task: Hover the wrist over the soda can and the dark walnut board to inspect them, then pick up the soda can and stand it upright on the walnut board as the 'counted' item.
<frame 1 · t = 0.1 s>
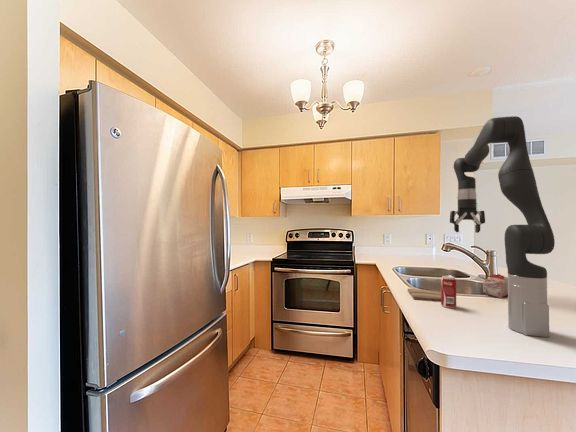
hand: (467, 232, 127), 29 cm above the countertop, fingers open, 8 cm apart
walnut board: (428, 296, 121), on the countertop
food item: (497, 295, 123), on the countertop
soda can: (448, 307, 106), on the countertop
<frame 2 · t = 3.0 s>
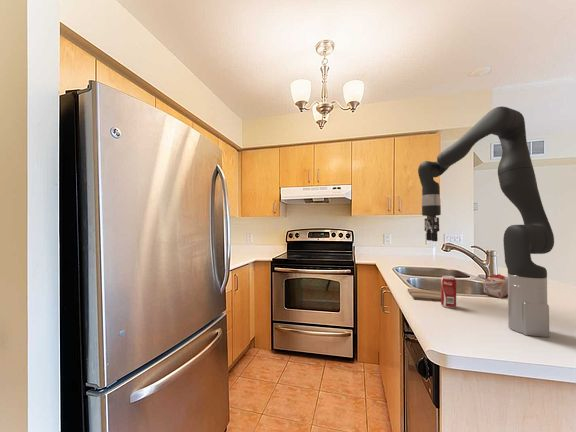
hand: (431, 240, 119), 26 cm above the countertop, fingers open, 8 cm apart
nothing on the countertop moved.
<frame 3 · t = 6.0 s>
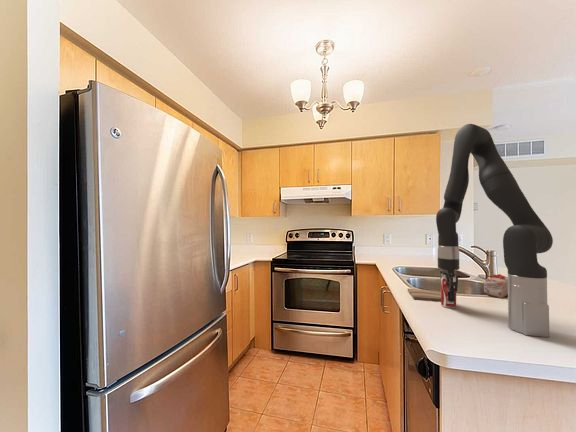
hand: (448, 299, 106), 3 cm above the countertop, fingers closed on soda can, 5 cm apart
soda can: (448, 306, 106), on the countertop, touching gripper
everything else where it was.
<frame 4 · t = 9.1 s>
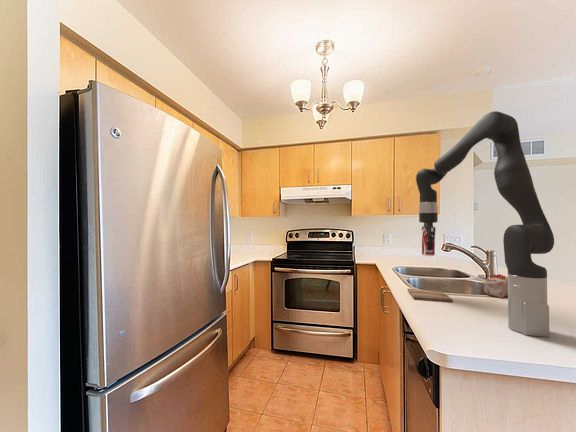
hand: (428, 249, 121), 22 cm above the countertop, fingers closed on soda can, 5 cm apart
soda can: (428, 255, 121), point 18 cm above the countertop, touching gripper
everything else where it was.
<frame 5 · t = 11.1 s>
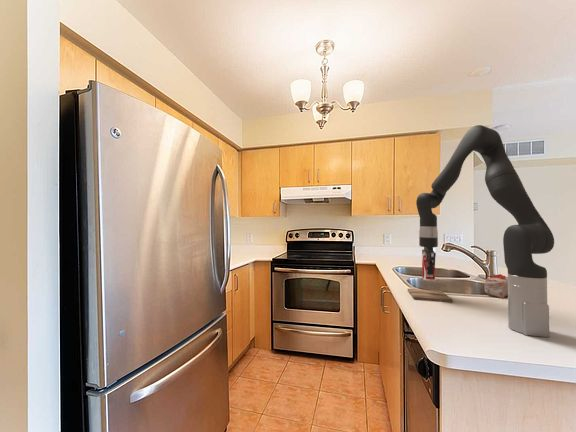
hand: (428, 273, 121), 11 cm above the countertop, fingers closed on soda can, 5 cm apart
soda can: (428, 280, 121), point 7 cm above the countertop, touching gripper
everything else where it was.
when the fingers open (6 cm above the countertop, at t = 12.6 s): soda can drops 1 cm, resting on walnut board.
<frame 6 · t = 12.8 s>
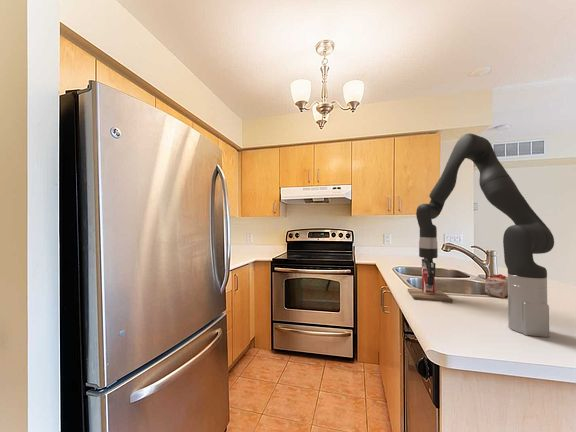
hand: (428, 283, 121), 6 cm above the countertop, fingers open, 6 cm apart
soda can: (428, 293, 121), point 1 cm above the countertop, touching walnut board
everything else where it was.
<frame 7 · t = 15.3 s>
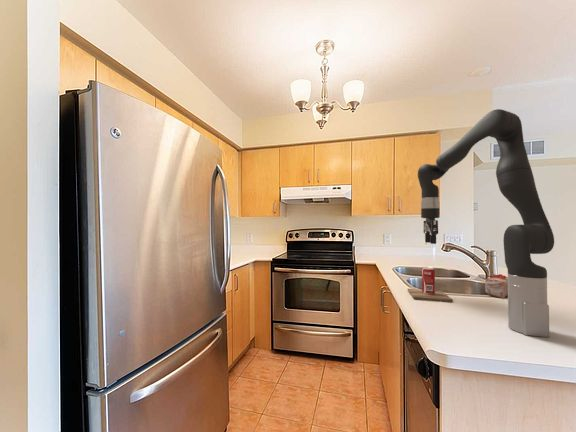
hand: (430, 243, 121), 24 cm above the countertop, fingers open, 8 cm apart
nothing on the countertop moved.
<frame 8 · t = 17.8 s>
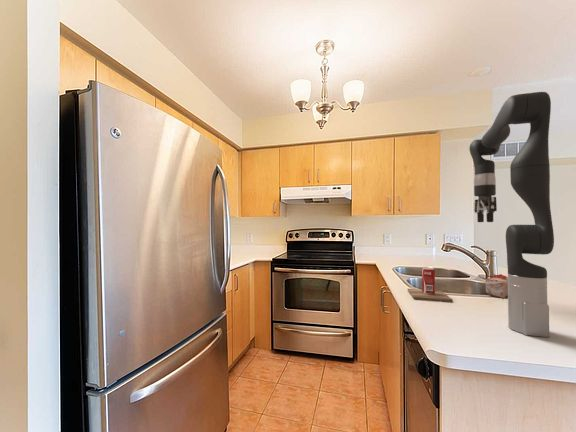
hand: (485, 222, 114), 34 cm above the countertop, fingers open, 8 cm apart
nothing on the countertop moved.
at the end: soda can inside the target area on the walnut board (0.0 cm from its centre), point 1.0 cm above the walnut board's base; soda can tilted 0°; the gripper is holding nothing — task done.
